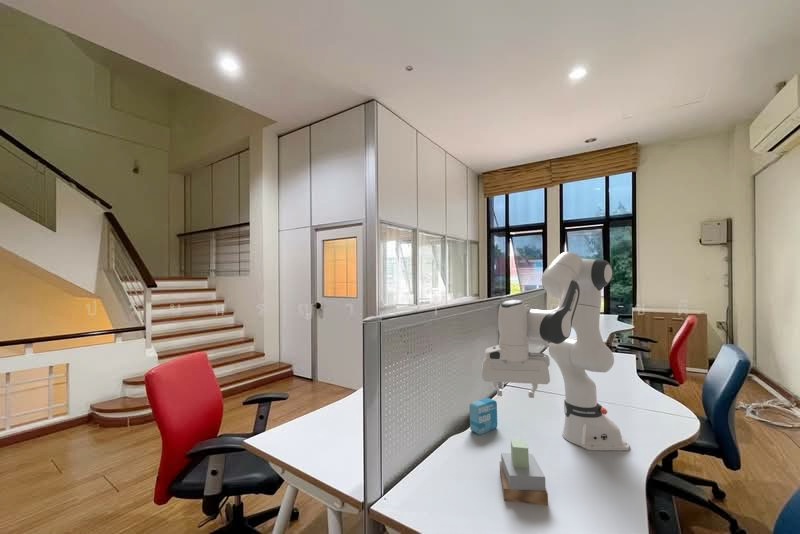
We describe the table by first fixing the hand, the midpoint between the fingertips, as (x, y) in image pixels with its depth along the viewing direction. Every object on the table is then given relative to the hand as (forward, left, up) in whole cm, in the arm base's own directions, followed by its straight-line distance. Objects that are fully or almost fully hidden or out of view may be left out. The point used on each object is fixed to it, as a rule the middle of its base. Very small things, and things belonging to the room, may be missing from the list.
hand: (515, 396), depth 102 cm
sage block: (-1, 0, -21) cm, 21 cm away
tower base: (-1, 0, -29) cm, 29 cm away
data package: (+10, -36, -28) cm, 47 cm away
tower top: (-1, +1, -25) cm, 25 cm away
